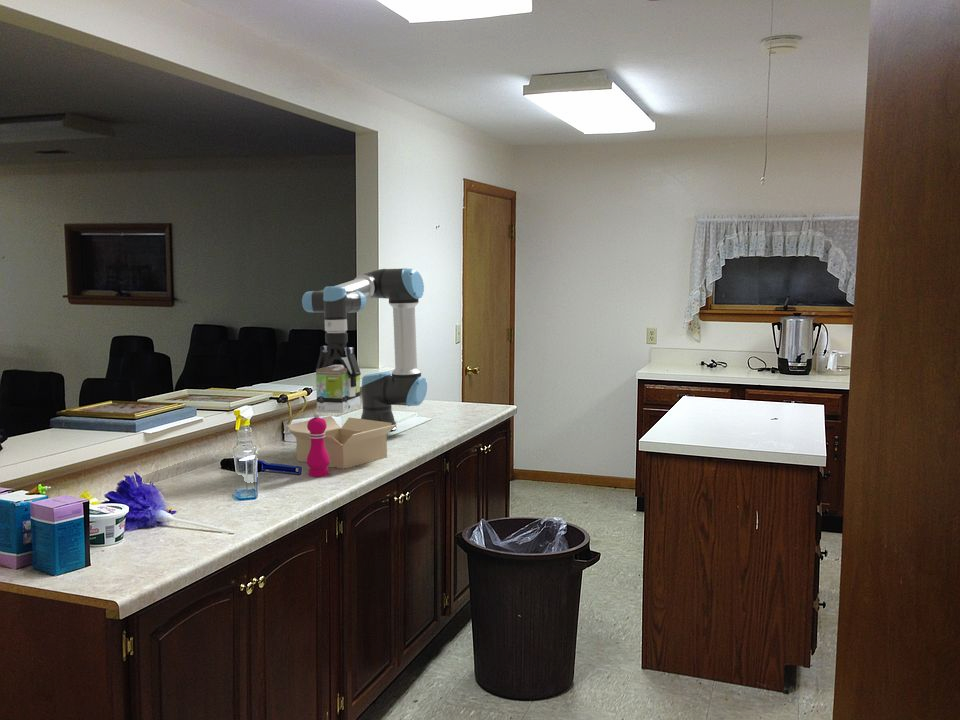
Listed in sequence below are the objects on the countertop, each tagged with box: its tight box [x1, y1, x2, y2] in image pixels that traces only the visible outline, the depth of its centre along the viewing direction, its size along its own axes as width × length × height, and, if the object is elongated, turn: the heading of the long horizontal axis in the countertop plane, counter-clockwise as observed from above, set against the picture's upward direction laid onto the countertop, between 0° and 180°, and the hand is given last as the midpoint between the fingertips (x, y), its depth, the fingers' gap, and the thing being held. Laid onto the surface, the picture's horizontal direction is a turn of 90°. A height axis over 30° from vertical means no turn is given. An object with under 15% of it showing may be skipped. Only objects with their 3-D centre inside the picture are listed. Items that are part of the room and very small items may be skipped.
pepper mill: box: [306, 412, 330, 478], centre depth 266 cm, size 7×7×20 cm
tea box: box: [315, 364, 361, 414], centre depth 287 cm, size 15×10×15 cm, turn 166°
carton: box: [286, 415, 397, 470], centre depth 288 cm, size 28×32×12 cm
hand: (338, 395), depth 287 cm, fingers closed on tea box, 12 cm apart
